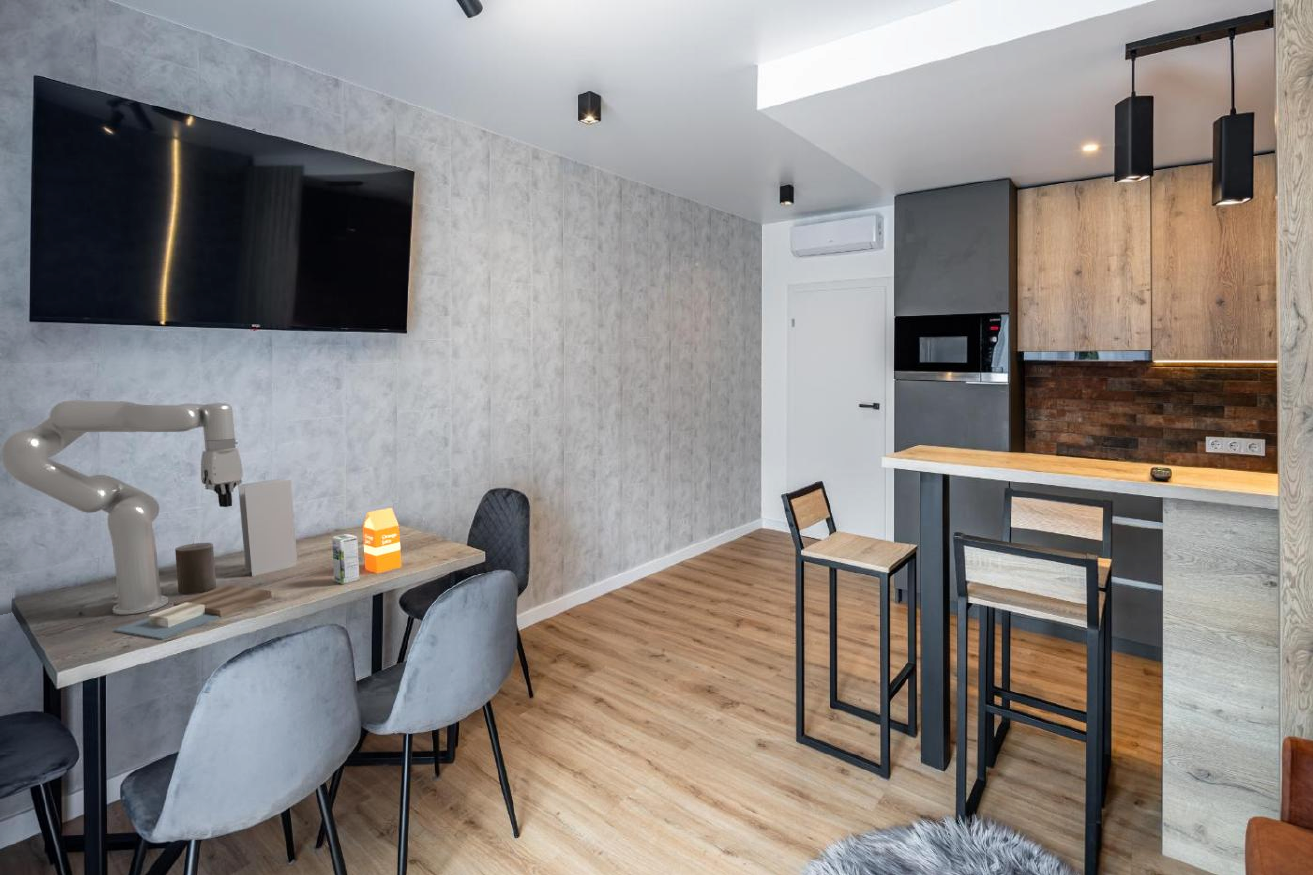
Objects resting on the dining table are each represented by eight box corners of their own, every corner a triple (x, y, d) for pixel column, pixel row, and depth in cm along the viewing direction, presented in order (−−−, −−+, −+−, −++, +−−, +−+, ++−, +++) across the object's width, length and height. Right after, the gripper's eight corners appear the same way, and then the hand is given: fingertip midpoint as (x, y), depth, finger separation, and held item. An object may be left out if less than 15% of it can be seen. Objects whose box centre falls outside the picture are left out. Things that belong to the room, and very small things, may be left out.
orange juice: (365, 569, 221) (361, 511, 219) (389, 562, 228) (386, 506, 226) (377, 573, 217) (373, 514, 214) (401, 566, 223) (398, 509, 221)
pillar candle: (197, 595, 198) (193, 547, 196) (170, 593, 200) (166, 545, 198) (224, 585, 207) (220, 538, 206) (198, 583, 209) (194, 537, 208)
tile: (149, 624, 175) (148, 615, 174) (187, 610, 184) (186, 602, 184) (168, 627, 172) (167, 618, 172) (205, 613, 182) (204, 604, 181)
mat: (114, 631, 171) (113, 629, 171) (172, 610, 186) (172, 609, 186) (162, 639, 166) (162, 637, 166) (218, 617, 180) (218, 616, 180)
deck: (174, 610, 186) (173, 603, 186) (227, 591, 201) (226, 585, 201) (220, 617, 180) (219, 610, 180) (271, 597, 195) (271, 590, 195)
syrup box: (333, 581, 209) (330, 536, 208) (351, 576, 214) (348, 532, 212) (342, 584, 206) (339, 539, 204) (360, 579, 210) (357, 535, 209)
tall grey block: (291, 562, 230) (284, 478, 227) (297, 565, 226) (291, 480, 223) (245, 573, 219) (238, 484, 216) (252, 576, 216) (244, 486, 212)
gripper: (234, 442, 202) (239, 500, 204) (186, 448, 188) (192, 510, 190) (252, 442, 200) (257, 501, 202) (204, 448, 186) (210, 512, 188)
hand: (225, 506), depth 196 cm, fingers closed
